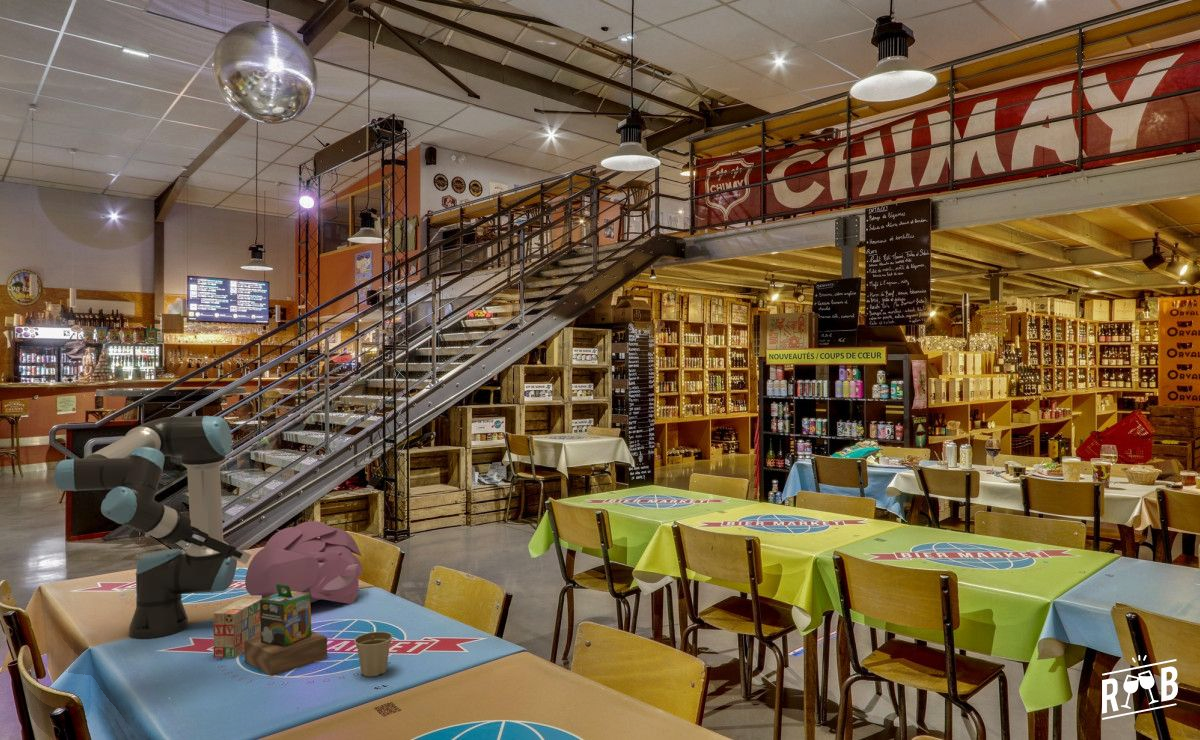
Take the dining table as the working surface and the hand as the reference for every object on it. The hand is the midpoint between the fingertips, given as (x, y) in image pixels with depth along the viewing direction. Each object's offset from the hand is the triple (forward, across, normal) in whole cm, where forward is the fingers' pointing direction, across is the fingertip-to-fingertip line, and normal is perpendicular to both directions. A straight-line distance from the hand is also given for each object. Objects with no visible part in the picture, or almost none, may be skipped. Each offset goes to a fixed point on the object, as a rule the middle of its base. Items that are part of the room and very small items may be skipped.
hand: (232, 552), depth 192 cm
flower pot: (+21, +45, -13) cm, 51 cm away
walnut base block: (+19, +18, -19) cm, 32 cm away
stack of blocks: (+23, -2, -20) cm, 31 cm away
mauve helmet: (+52, -17, -5) cm, 55 cm away
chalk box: (+16, +17, -14) cm, 27 cm away
